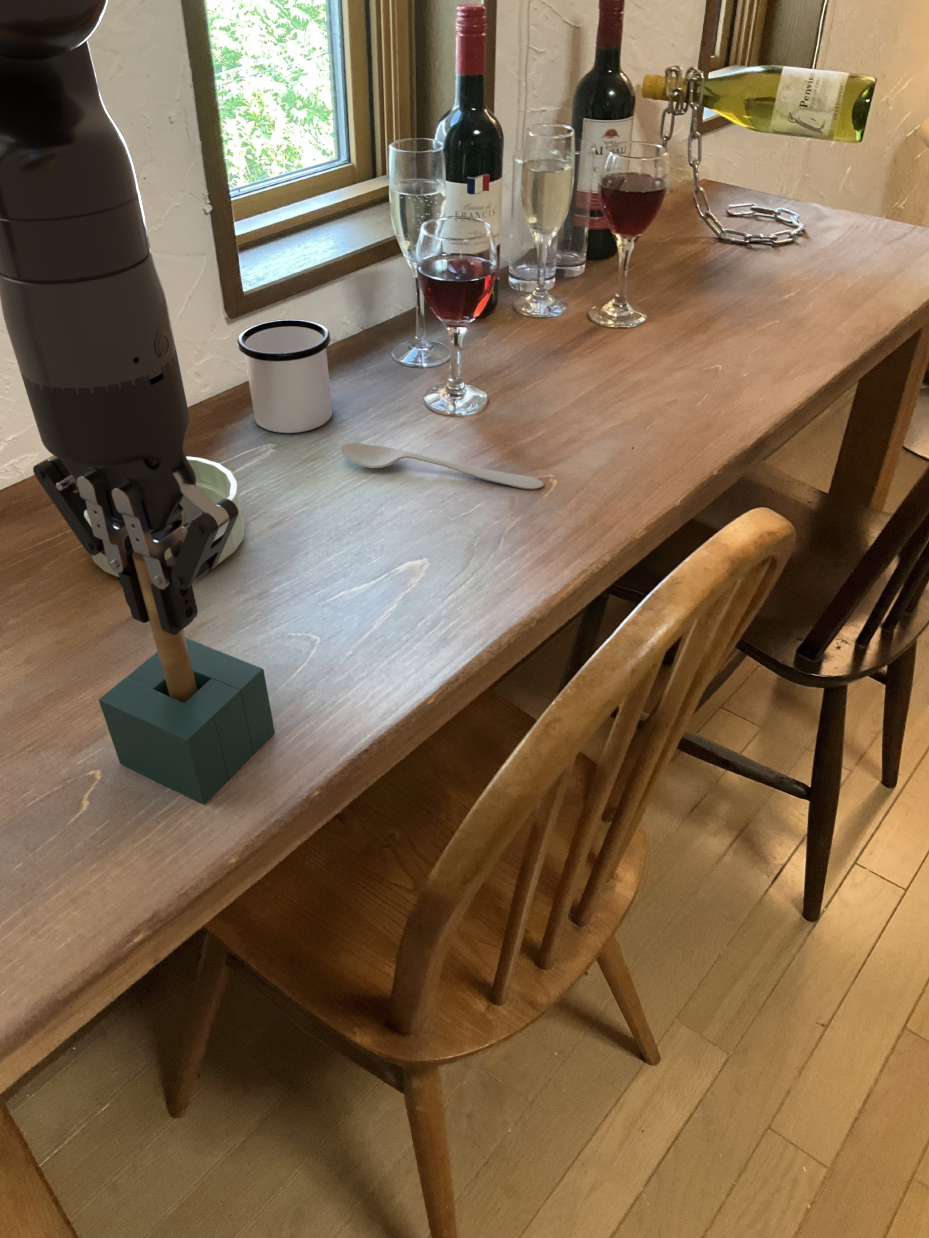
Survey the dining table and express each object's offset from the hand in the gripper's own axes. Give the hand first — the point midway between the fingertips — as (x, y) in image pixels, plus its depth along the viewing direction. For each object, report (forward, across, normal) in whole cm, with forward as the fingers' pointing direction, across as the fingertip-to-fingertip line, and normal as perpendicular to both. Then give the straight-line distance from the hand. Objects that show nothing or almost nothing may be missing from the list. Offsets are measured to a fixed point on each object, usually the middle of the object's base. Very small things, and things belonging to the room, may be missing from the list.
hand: (165, 619), depth 59 cm
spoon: (+11, -4, +40) cm, 42 cm away
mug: (+11, -24, +44) cm, 51 cm away
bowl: (+11, -19, +18) cm, 29 cm away
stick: (+11, 0, 0) cm, 11 cm away
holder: (+11, 0, 0) cm, 11 cm away
